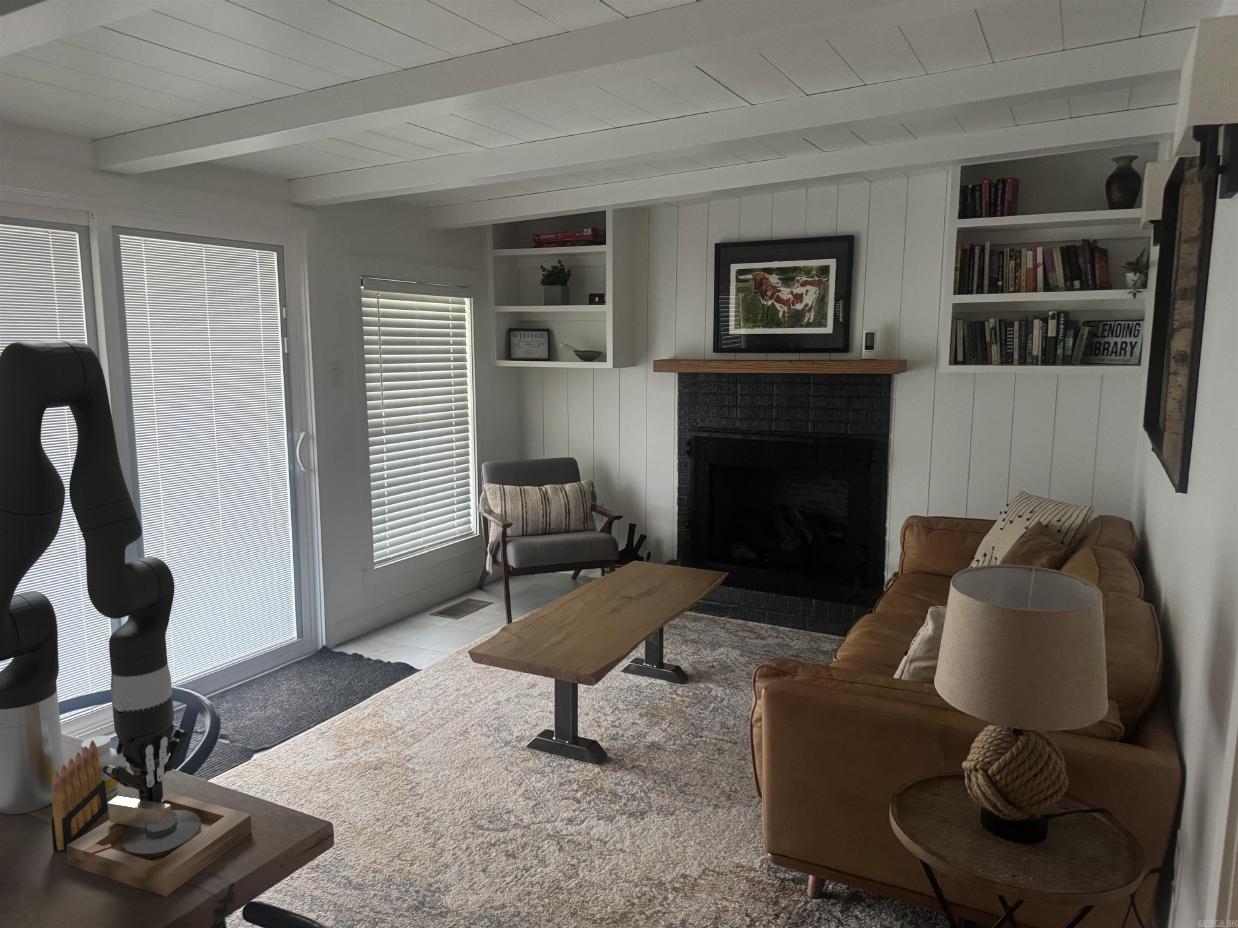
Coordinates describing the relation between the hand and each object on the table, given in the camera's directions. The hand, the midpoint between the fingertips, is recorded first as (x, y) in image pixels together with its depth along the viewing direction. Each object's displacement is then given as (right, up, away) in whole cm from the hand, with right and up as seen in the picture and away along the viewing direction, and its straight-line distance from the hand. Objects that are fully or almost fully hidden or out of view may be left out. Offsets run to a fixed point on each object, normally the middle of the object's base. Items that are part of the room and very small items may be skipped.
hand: (151, 805), depth 121 cm
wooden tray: (+3, -5, -3) cm, 7 cm away
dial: (+2, -3, -3) cm, 5 cm away
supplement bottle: (-13, -3, +9) cm, 17 cm away
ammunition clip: (-11, -4, +1) cm, 12 cm away
